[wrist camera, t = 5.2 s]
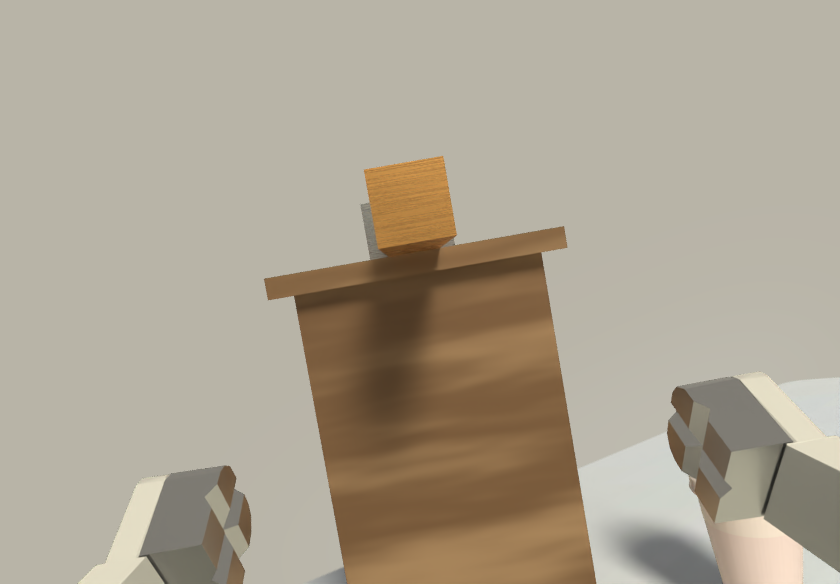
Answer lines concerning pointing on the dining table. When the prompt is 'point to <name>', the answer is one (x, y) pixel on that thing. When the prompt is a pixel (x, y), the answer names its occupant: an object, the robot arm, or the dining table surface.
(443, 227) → the mallet
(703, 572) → the dining table surface
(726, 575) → the smoothie
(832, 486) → the robot arm
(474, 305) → the stand
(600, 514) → the dining table surface
